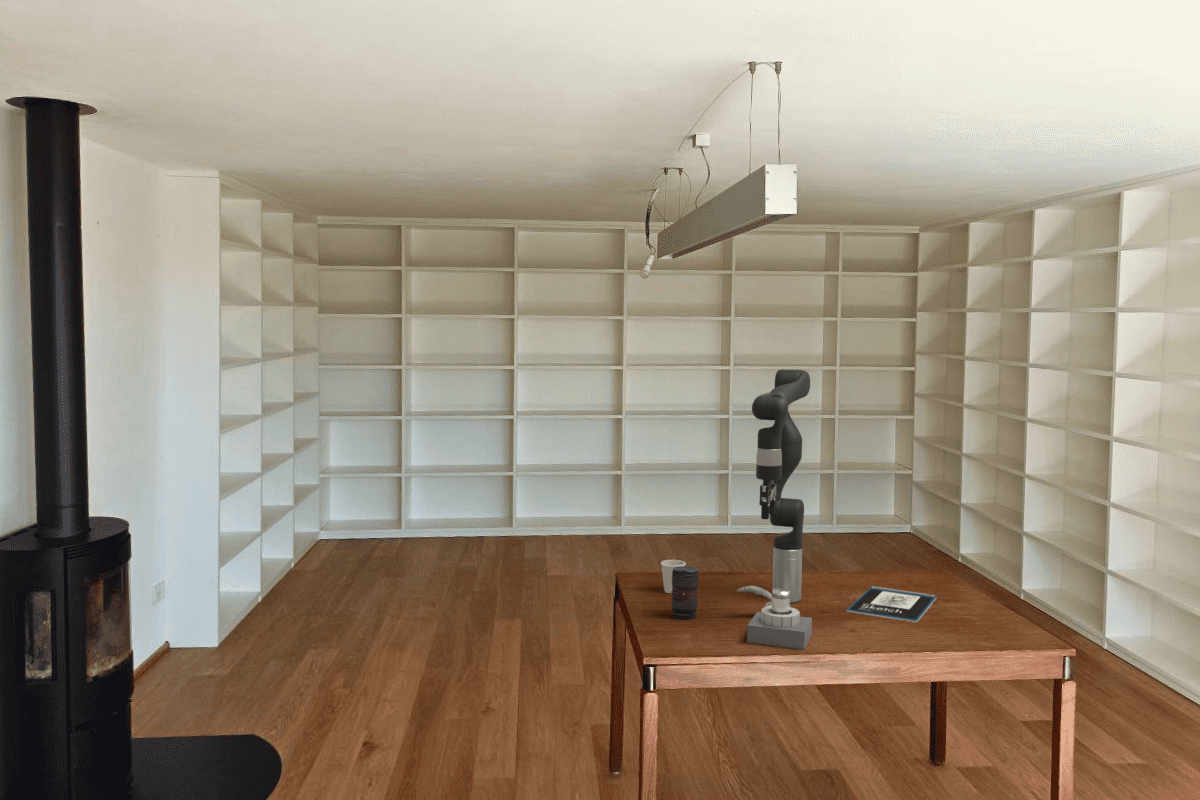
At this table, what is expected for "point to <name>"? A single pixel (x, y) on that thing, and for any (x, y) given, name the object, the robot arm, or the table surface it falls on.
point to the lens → (780, 601)
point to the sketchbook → (892, 604)
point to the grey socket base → (780, 629)
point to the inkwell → (758, 592)
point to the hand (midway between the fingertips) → (767, 516)
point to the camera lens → (684, 592)
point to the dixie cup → (669, 572)
